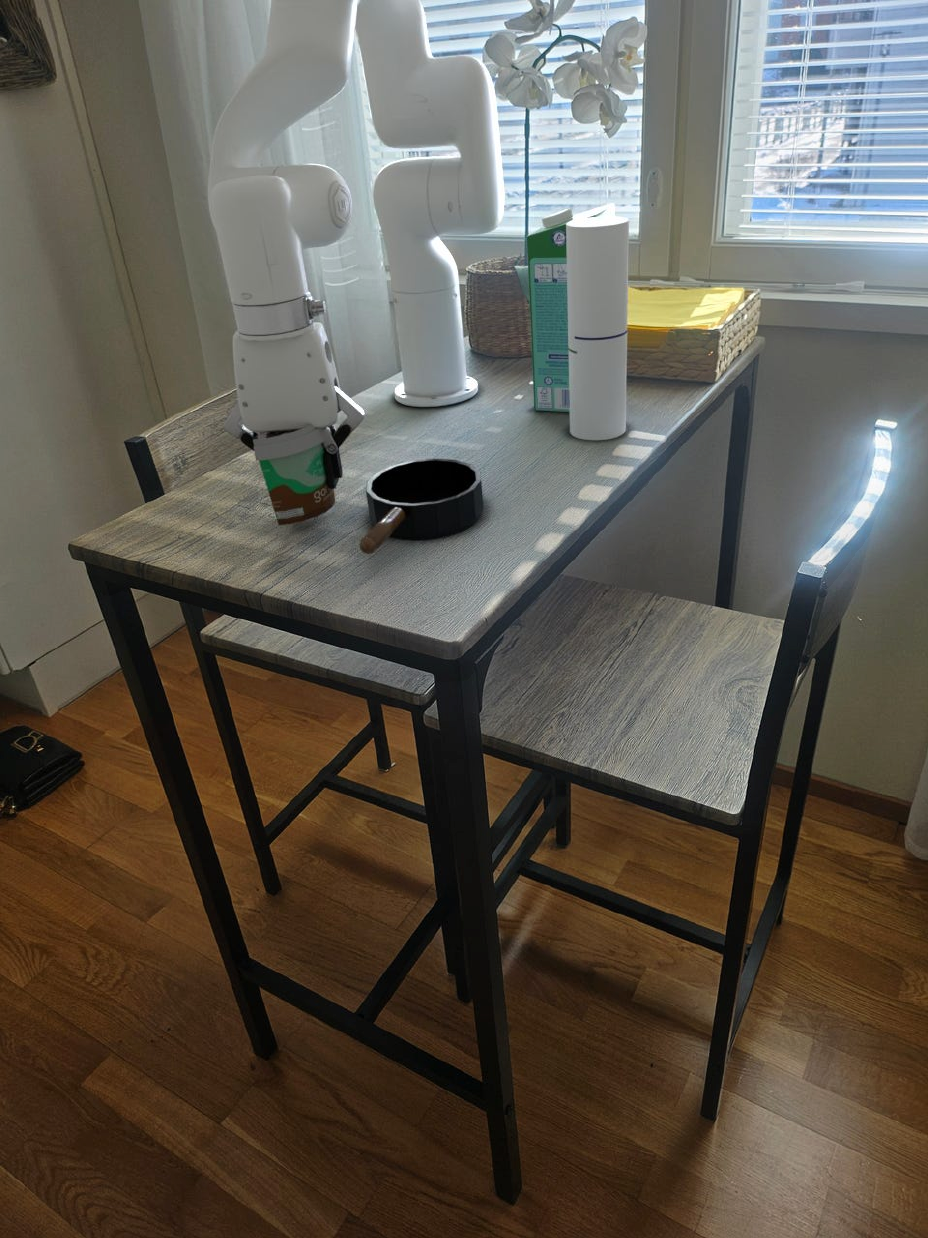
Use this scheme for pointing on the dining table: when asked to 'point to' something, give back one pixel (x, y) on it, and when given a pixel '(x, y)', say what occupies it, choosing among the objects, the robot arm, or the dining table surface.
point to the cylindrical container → (597, 325)
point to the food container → (295, 473)
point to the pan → (422, 501)
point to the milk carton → (551, 308)
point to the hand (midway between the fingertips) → (306, 484)
